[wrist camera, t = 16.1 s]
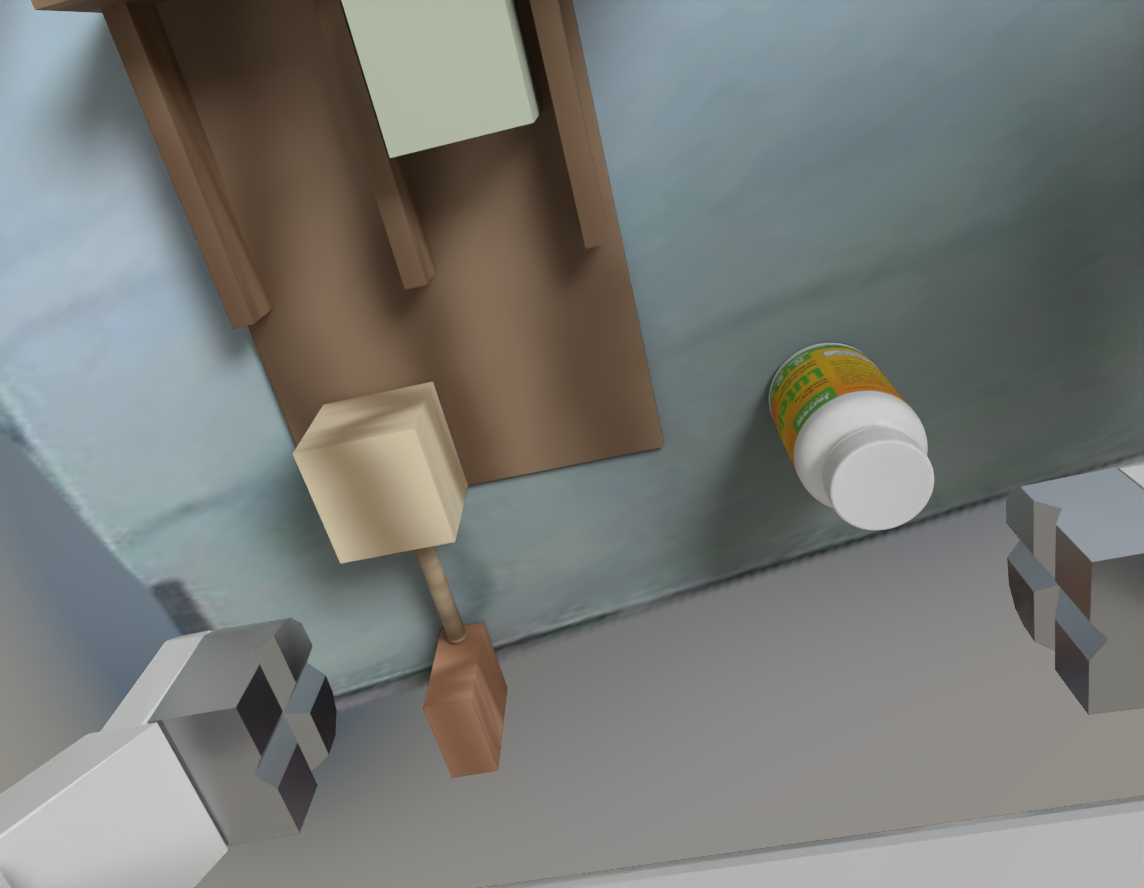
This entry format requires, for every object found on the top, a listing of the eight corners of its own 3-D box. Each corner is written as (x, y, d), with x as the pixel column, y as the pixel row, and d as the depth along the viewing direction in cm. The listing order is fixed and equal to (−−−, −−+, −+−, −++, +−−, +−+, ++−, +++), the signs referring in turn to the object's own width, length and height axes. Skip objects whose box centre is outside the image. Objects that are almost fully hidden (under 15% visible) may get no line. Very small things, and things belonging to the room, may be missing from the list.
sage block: (504, -47, 34) (490, -60, 30) (541, 112, 37) (533, 122, 32) (369, -11, 35) (335, -17, 30) (415, 143, 37) (389, 158, 33)
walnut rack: (544, -135, 33) (533, -171, 27) (663, 443, 43) (674, 505, 38) (115, -14, 35) (21, -23, 29) (326, 509, 46) (286, 579, 40)
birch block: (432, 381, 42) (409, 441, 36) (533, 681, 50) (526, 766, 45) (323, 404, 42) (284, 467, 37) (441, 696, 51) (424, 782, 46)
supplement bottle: (792, 325, 41) (846, 406, 32) (898, 358, 41) (980, 445, 32) (749, 426, 43) (789, 526, 34) (850, 455, 43) (915, 561, 35)
